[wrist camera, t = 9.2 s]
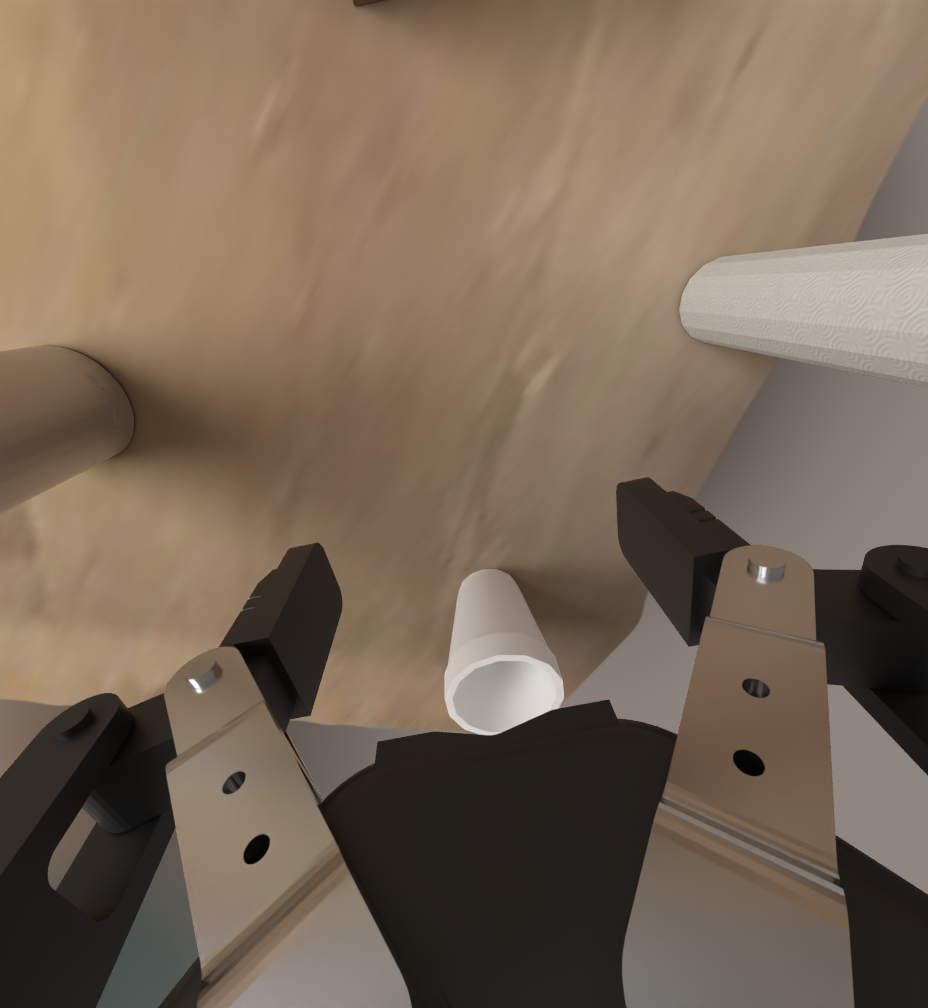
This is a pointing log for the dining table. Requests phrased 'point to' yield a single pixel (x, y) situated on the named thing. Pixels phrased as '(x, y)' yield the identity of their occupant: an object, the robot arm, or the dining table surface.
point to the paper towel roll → (820, 306)
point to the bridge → (363, 2)
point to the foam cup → (498, 658)
